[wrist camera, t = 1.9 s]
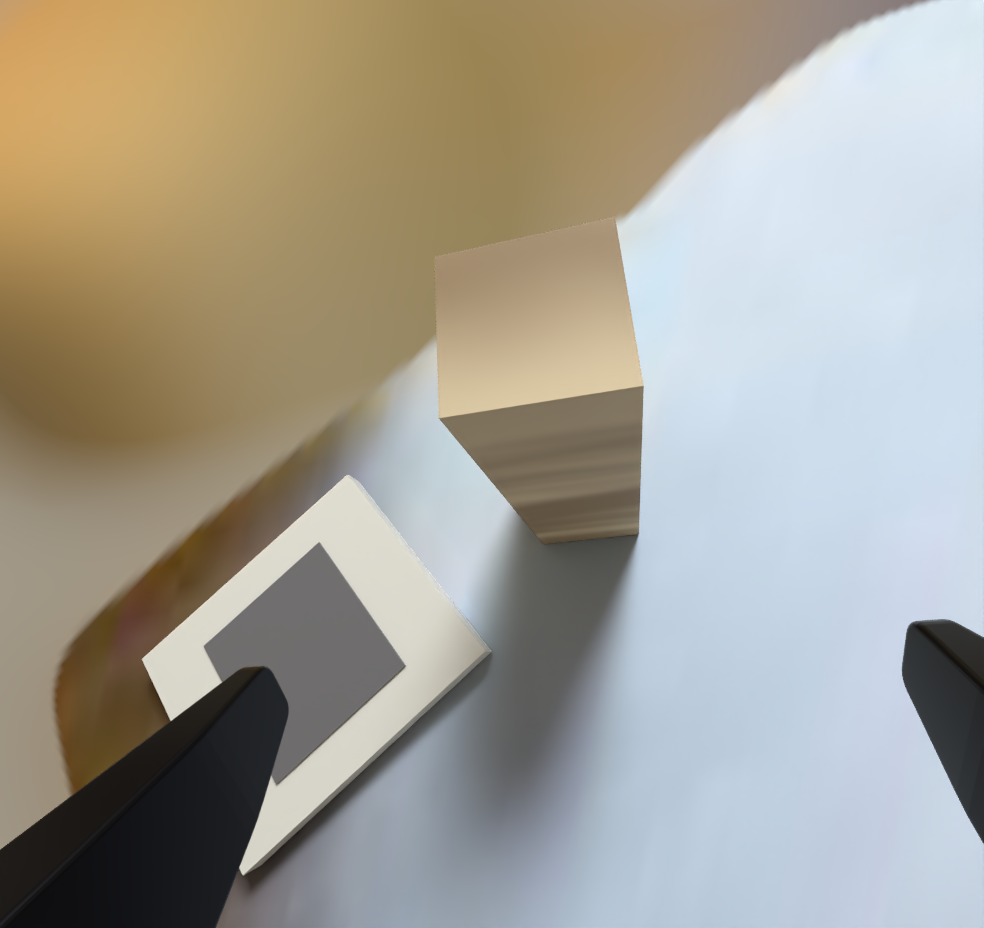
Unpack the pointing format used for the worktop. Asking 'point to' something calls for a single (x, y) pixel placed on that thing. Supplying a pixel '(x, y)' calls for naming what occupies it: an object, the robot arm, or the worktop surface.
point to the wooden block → (546, 377)
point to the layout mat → (325, 651)
